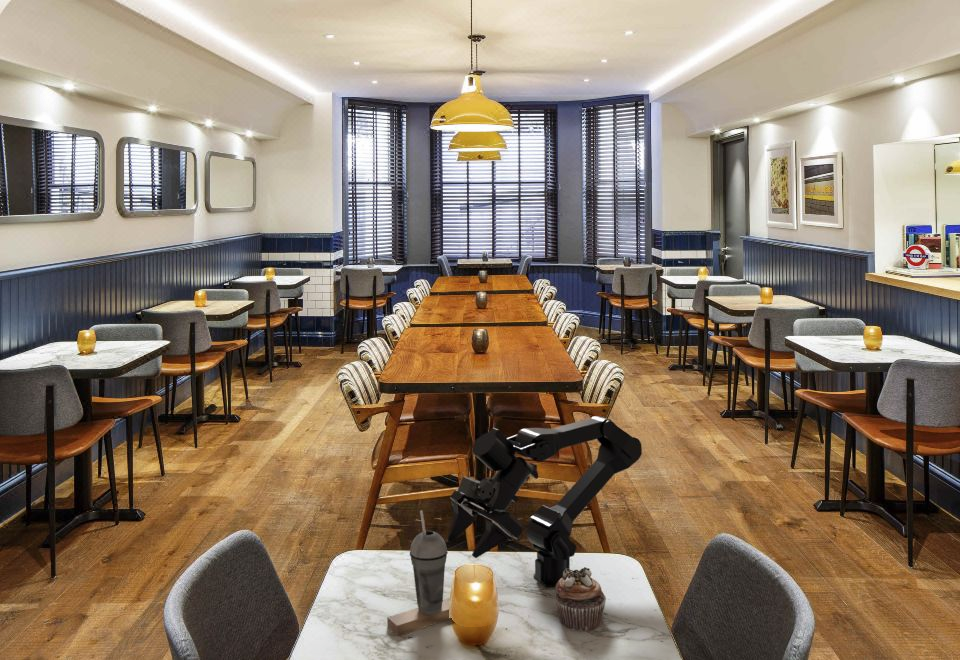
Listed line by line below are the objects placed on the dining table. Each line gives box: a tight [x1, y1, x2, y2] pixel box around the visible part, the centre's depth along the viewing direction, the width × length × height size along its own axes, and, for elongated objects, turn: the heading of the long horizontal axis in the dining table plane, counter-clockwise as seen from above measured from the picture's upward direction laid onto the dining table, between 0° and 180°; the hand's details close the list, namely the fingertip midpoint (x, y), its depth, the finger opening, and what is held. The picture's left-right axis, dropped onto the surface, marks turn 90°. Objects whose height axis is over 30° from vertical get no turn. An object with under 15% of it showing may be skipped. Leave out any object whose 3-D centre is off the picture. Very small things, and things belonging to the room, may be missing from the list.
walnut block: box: [386, 597, 451, 636], centre depth 161 cm, size 16×4×2 cm, turn 123°
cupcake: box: [554, 566, 607, 632], centre depth 159 cm, size 10×10×10 cm
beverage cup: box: [409, 510, 448, 615], centre depth 159 cm, size 7×7×20 cm
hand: (460, 548), depth 163 cm, fingers open, 9 cm apart
